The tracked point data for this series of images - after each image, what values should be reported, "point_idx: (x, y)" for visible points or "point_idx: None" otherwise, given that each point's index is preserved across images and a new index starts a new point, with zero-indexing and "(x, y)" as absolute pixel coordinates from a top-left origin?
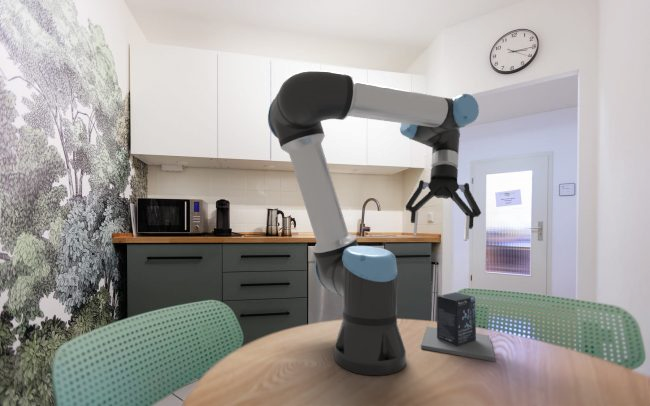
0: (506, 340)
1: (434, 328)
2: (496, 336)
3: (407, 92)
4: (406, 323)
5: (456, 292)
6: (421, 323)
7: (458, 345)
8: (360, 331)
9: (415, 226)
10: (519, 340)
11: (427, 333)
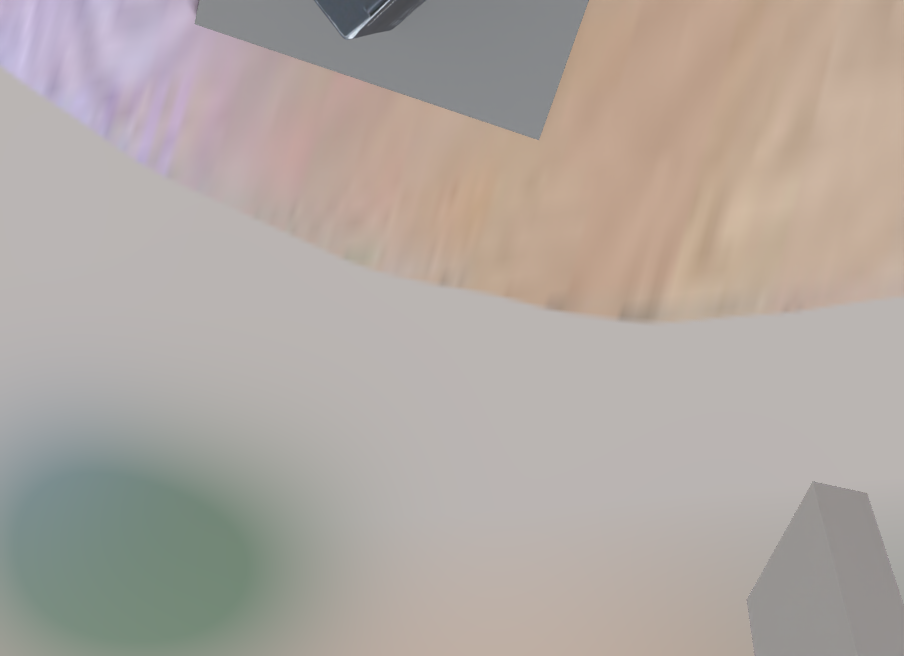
0: (107, 7)
1: (500, 105)
2: (146, 69)
3: None
4: (641, 236)
5: (340, 25)
6: (543, 248)
7: None
8: None
9: (879, 602)
10: (32, 18)
11: (571, 2)
